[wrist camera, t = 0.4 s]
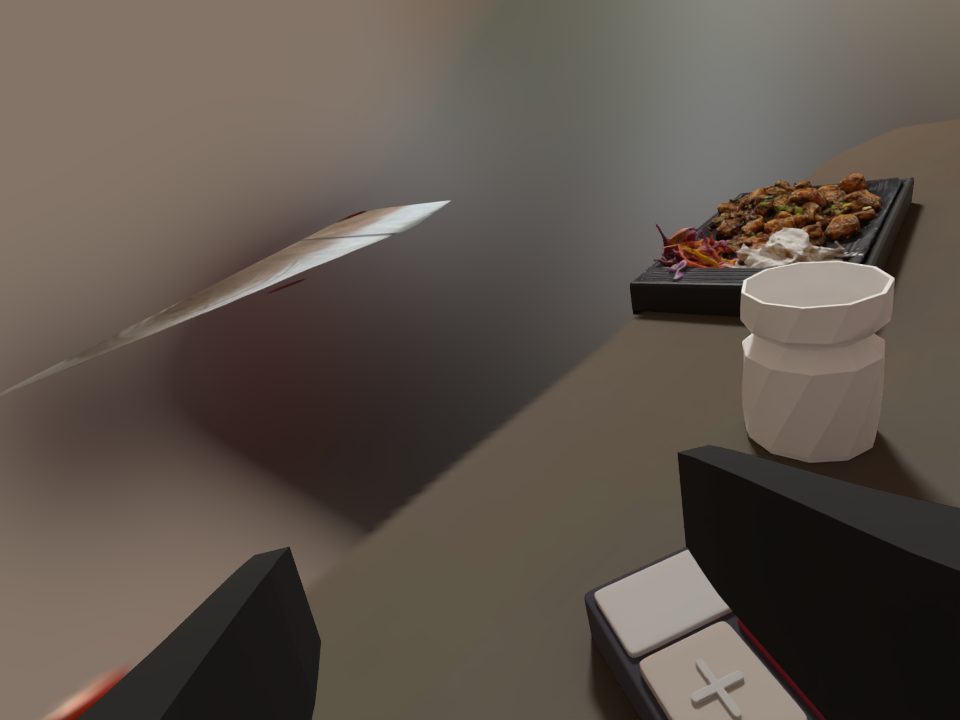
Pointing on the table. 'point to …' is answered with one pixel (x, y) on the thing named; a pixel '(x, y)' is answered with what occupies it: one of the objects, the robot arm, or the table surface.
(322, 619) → the table surface
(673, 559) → the calculator
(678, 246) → the food platter
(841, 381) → the white jar
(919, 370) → the table surface
